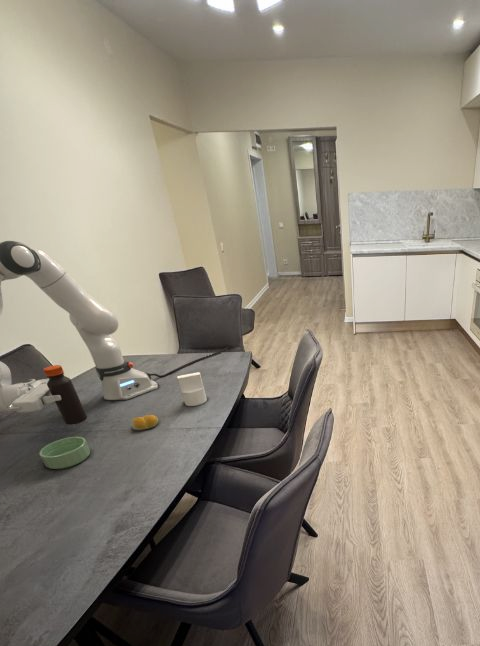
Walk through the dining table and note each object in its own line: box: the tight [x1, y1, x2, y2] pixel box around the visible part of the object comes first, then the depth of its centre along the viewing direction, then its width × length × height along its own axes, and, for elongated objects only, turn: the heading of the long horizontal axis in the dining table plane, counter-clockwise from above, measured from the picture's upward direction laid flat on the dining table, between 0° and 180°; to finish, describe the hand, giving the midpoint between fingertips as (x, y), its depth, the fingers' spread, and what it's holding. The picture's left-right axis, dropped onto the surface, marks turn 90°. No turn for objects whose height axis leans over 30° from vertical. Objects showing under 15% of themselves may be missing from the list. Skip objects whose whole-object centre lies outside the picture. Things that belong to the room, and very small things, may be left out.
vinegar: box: [43, 364, 88, 426], centre depth 134 cm, size 7×7×20 cm
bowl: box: [39, 436, 91, 470], centre depth 130 cm, size 13×13×5 cm
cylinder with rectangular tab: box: [176, 371, 208, 407], centre depth 165 cm, size 9×9×12 cm
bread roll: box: [131, 414, 159, 431], centre depth 149 cm, size 8×9×4 cm
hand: (66, 392), depth 133 cm, fingers closed on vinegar, 7 cm apart
